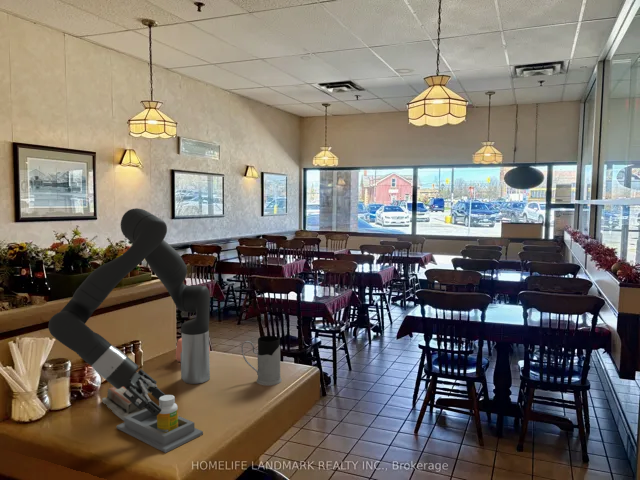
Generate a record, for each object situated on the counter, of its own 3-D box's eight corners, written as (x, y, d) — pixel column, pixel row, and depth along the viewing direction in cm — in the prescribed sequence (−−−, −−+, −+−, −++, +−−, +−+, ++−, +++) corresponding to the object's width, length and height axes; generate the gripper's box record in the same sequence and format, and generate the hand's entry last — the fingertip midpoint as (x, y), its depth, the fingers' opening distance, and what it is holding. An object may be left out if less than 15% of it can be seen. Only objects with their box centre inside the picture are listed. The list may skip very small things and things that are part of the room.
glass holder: (278, 386, 167) (277, 343, 165) (238, 383, 169) (237, 340, 168) (284, 376, 175) (284, 335, 174) (246, 374, 178) (245, 333, 176)
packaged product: (100, 388, 154) (132, 380, 161) (101, 403, 154) (132, 394, 161) (122, 406, 141) (155, 396, 148) (123, 422, 141) (156, 412, 148)
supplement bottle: (172, 438, 129) (171, 402, 129) (153, 436, 130) (152, 400, 130) (181, 428, 135) (180, 394, 134) (163, 426, 136) (162, 392, 135)
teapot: (215, 354, 201) (214, 329, 200) (196, 369, 183) (195, 342, 182) (188, 352, 203) (187, 327, 202) (167, 367, 185) (166, 340, 184)
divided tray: (116, 428, 137) (116, 417, 137) (153, 412, 146) (153, 402, 146) (165, 452, 124) (165, 440, 124) (202, 434, 133) (202, 422, 133)
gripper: (118, 365, 122) (167, 407, 125) (131, 347, 136) (175, 385, 139) (96, 387, 122) (146, 428, 124) (112, 367, 136) (156, 405, 138)
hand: (161, 405), depth 132 cm, fingers open, 8 cm apart
